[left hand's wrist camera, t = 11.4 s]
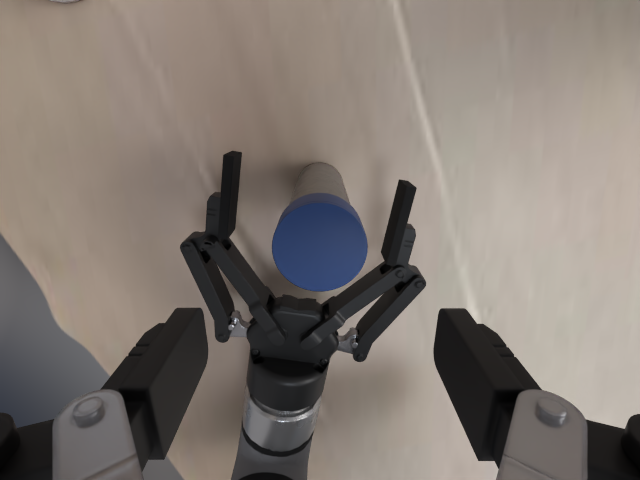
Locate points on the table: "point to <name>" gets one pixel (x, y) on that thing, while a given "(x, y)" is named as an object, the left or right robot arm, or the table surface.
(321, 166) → the metal thermos flask
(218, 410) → the table surface
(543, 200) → the table surface
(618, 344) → the table surface
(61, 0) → the mug
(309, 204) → the lid
